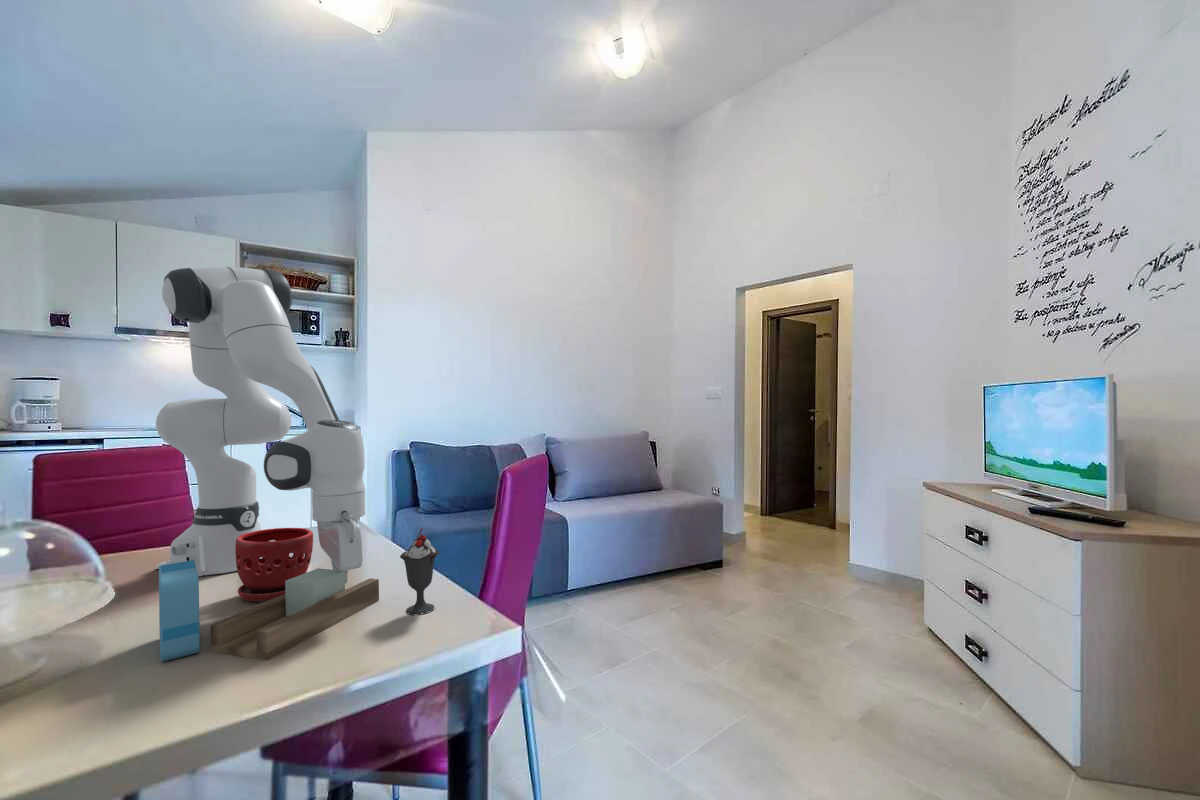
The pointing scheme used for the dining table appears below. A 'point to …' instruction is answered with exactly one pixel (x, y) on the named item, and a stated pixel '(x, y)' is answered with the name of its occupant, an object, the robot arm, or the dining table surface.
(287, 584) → the block
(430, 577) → the sundae
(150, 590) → the dining table surface
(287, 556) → the plant pot
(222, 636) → the chute
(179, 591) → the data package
